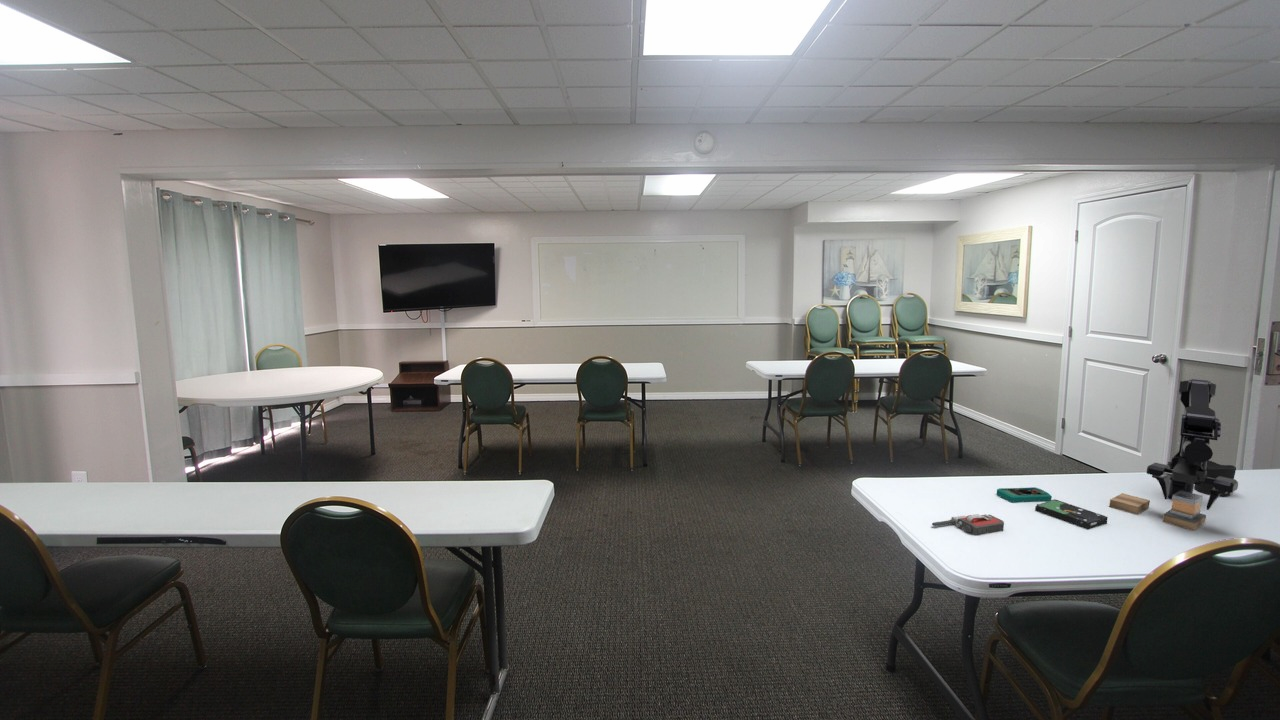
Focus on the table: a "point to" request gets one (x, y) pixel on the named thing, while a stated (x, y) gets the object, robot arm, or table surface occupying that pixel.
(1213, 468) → the pen holder
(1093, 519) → the disk drive
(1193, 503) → the block
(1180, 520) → the stand
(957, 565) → the table surface
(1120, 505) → the stand
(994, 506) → the table surface
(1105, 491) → the table surface
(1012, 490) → the digital multimeter
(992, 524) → the walkie-talkie
